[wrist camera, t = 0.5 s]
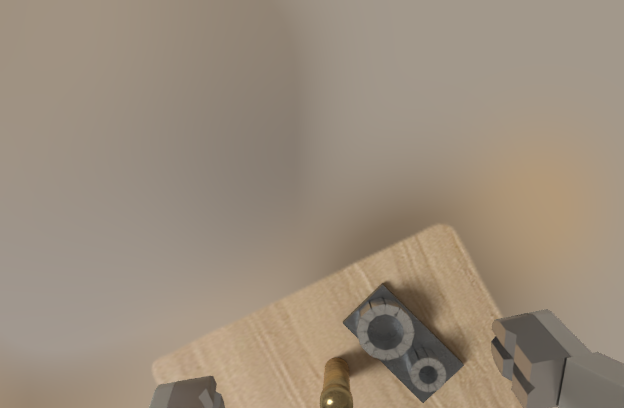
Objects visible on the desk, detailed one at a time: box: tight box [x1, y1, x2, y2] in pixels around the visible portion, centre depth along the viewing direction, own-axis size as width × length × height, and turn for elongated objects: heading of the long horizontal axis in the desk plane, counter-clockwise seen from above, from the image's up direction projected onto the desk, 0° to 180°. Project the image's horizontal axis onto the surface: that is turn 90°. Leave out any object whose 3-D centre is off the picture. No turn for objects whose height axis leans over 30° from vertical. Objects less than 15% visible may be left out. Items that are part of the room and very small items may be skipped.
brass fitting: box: [320, 358, 353, 408], centre depth 57 cm, size 5×5×10 cm
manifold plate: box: [343, 284, 464, 403], centre depth 59 cm, size 18×9×4 cm, turn 45°
